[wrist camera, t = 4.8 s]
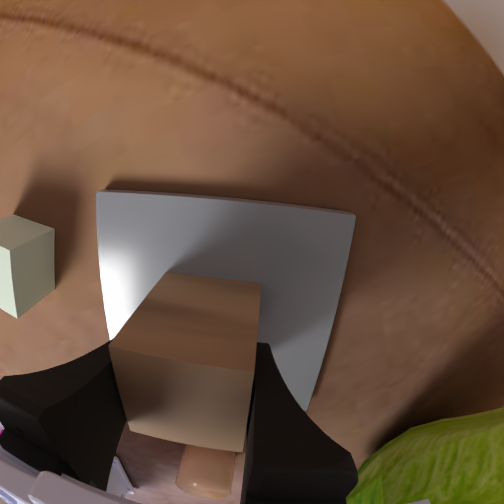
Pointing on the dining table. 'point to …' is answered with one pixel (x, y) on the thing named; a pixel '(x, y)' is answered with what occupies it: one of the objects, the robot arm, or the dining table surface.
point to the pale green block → (25, 264)
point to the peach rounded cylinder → (206, 472)
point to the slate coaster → (232, 264)
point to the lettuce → (438, 464)
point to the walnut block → (190, 360)
